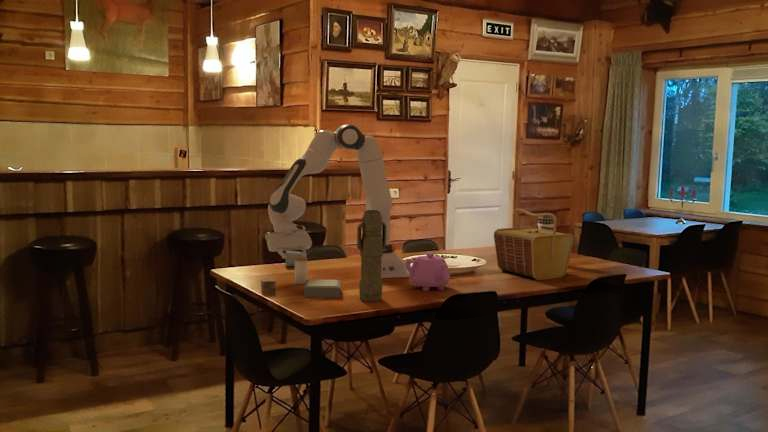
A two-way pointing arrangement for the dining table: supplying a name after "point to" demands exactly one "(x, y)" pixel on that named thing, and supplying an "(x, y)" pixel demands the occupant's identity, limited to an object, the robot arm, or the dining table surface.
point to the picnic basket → (533, 250)
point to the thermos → (371, 255)
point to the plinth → (322, 288)
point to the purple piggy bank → (428, 272)
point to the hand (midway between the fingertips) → (294, 256)
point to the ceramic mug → (291, 258)
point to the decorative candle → (545, 223)
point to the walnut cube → (268, 286)
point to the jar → (300, 270)
